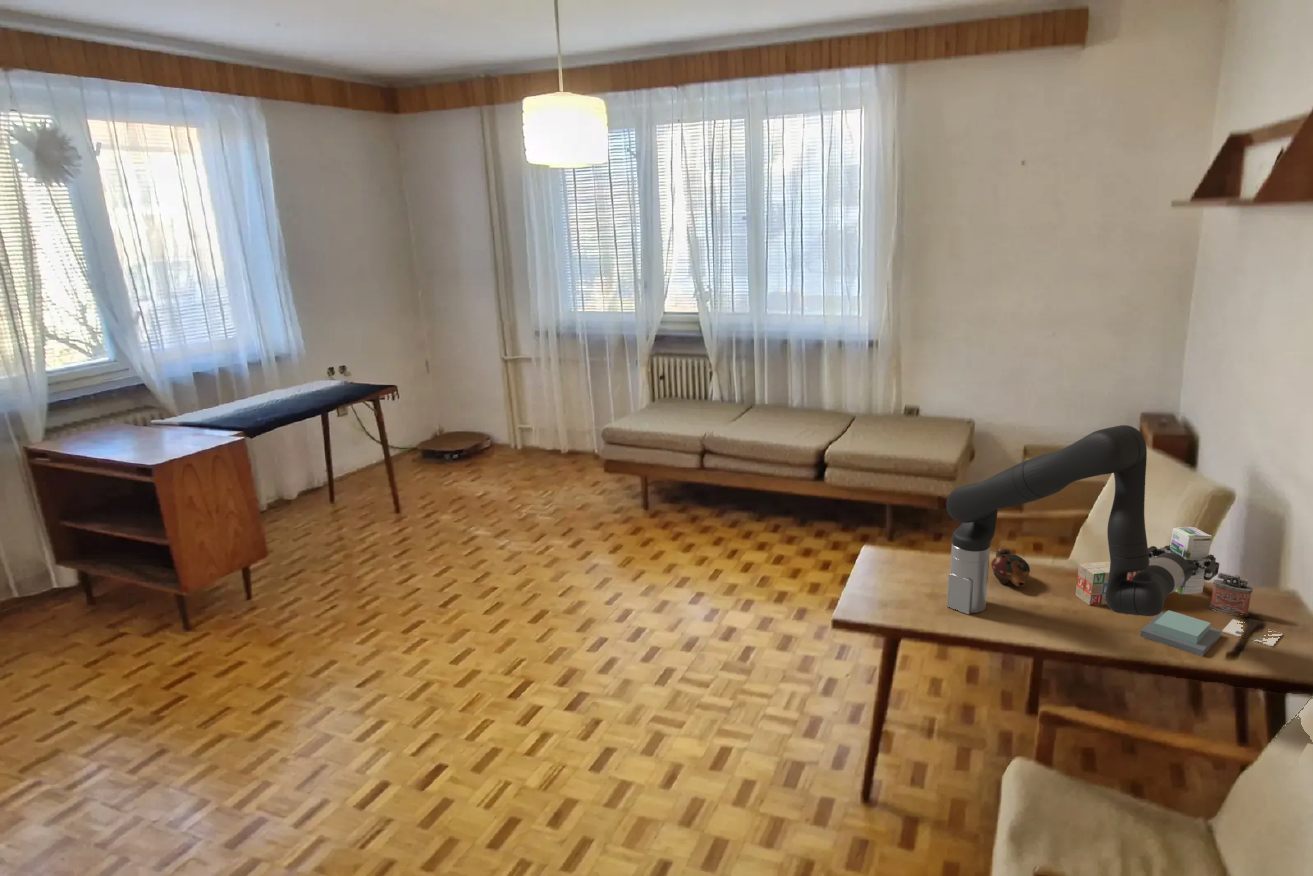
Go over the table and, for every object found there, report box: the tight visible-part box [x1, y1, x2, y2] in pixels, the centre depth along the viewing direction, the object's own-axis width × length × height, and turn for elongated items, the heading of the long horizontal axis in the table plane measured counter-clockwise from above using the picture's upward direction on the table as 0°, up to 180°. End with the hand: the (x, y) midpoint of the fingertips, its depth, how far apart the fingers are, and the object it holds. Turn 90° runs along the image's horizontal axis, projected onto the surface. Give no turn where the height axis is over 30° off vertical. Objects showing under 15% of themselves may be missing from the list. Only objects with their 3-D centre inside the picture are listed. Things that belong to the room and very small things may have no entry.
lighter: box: [1209, 572, 1254, 615], centre depth 201 cm, size 8×3×10 cm, turn 47°
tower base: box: [1139, 609, 1223, 657], centre depth 192 cm, size 13×13×4 cm
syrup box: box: [1169, 526, 1213, 595], centre depth 187 cm, size 6×6×14 cm
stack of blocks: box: [1075, 556, 1166, 606], centre depth 211 cm, size 21×6×12 cm, turn 97°
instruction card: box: [1222, 618, 1283, 647], centre depth 193 cm, size 8×10×1 cm
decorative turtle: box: [991, 546, 1031, 588], centre depth 223 cm, size 10×15×8 cm, turn 5°
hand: (1191, 553), depth 188 cm, fingers closed on syrup box, 7 cm apart
